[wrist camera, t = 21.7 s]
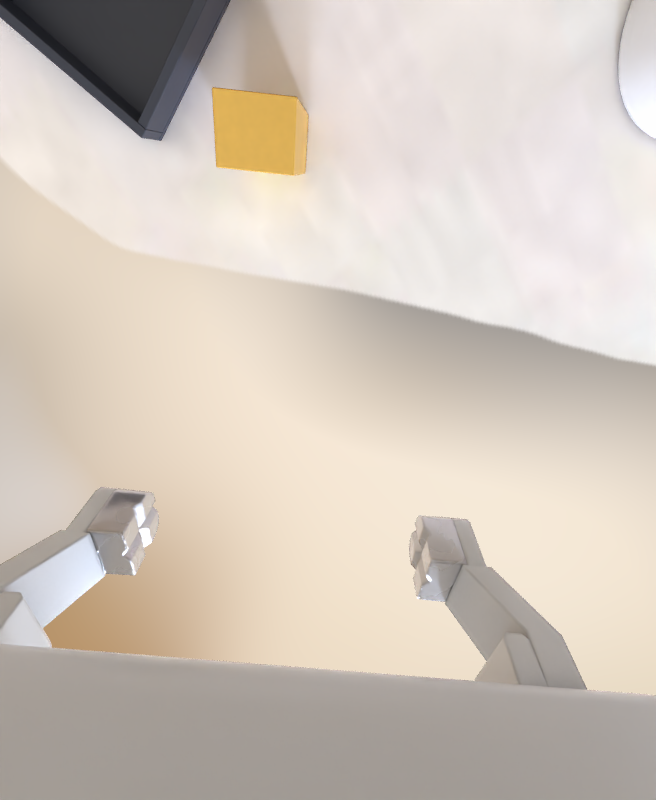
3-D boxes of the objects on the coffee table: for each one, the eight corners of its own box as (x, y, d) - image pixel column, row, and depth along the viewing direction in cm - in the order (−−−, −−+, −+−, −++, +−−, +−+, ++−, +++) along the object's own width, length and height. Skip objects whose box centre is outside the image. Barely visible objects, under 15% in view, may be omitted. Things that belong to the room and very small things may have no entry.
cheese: (308, 114, 30) (297, 96, 22) (305, 173, 32) (294, 175, 24) (245, 107, 30) (211, 86, 22) (246, 167, 32) (216, 167, 24)
